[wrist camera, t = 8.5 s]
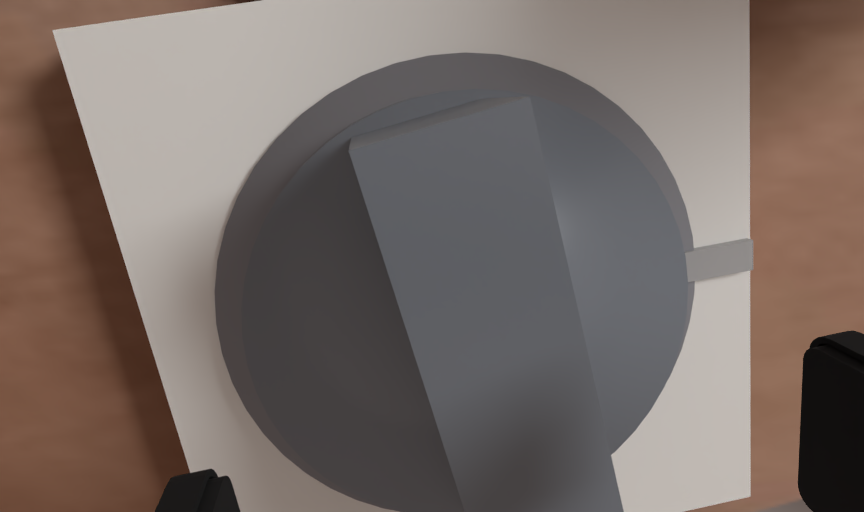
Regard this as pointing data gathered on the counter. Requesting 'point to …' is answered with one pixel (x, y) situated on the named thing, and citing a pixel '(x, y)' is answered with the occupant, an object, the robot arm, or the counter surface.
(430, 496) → the dial
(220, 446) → the dial plate
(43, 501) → the counter surface
